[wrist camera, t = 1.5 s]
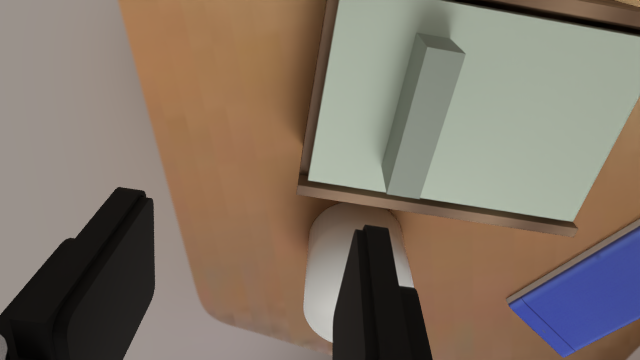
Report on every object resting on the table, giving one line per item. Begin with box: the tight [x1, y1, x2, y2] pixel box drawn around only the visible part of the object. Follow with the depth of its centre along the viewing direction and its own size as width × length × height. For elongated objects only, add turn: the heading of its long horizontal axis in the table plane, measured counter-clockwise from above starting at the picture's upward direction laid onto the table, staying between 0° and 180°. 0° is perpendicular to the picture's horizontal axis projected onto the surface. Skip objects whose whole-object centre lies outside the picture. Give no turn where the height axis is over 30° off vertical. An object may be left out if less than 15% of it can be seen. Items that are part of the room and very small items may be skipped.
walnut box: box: [296, 0, 640, 237], centre depth 25 cm, size 16×12×6 cm
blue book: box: [506, 219, 640, 357], centre depth 36 cm, size 2×8×12 cm
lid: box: [308, 0, 640, 222], centre depth 22 cm, size 15×10×4 cm, turn 81°
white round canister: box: [304, 202, 414, 343], centre depth 31 cm, size 7×7×7 cm
